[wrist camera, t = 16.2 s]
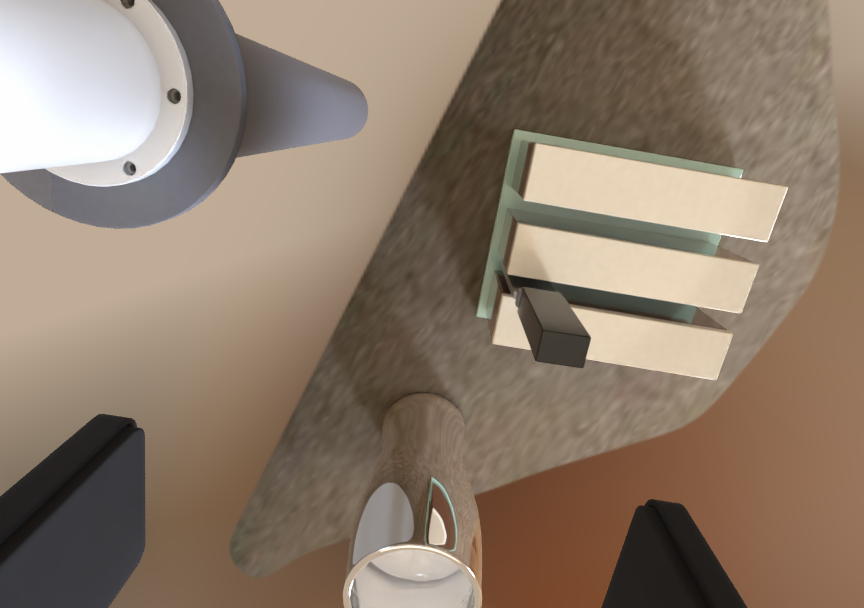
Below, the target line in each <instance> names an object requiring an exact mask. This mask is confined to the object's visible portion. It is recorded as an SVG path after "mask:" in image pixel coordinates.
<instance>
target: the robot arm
mask: <svg viewBox="0 0 864 608" xmlns="http://www.w3.org/2000/svg"><path fill="white" fill-rule="evenodd" d="M179 92H180V94H181V100H180V101H179V99H178V98H177V95H178V93H179ZM193 97H194V92H193V83H192V74H191V70H190V66H189V63H188V59H187V56H186V52H185V50H184V48H183V46H182V43H181V41H180V39H179V37H178V35H177V33H176V31H175V29H174V28H173V26H172V25H171V23H170V22H169V21H168V19H167V18H166V16H165V15H164V13H163V12H162V11H161V10H160V9H159V8H158V7H157V5H156V4H155V3H154V2H153V1H152V0H135V2H134V6H132V0H0V173H9V172H17V171H26V170H35V169H43V168H45V169H46V170H48V171H49V172H51V173H53V174H55V175H58V176H60V177H62V178H64V179H66V180H69V181H73V182H76V183H80V184H84V185H90V186H103V187H107V186H115V185H123V184H128V183H132V182H136V181H139V180H142V179H144V178H146V177H148V176H150V175H152V174H154V173H156V172H157V171H158V170H159V169H161V168H162V167H163V166H164V165H166V164H167V163H168V162H169V161H170V160H171V158H172V157H173V156H174V155H175V153H176V152H177V151H178V150H179V148H180V146H181V144H182V142H183V140H184V138H185V136H186V134H187V132H188V128H189V125H190V121H191V117H192V112H193ZM134 165H135V166H136V170H135V169H134ZM144 436H145V435H144V431H143V429H141V428H137V425H136V422H135V420H133V419H132V418H125V417H119V416H113V415H106V414H99V415H97V416H96V417H94V418H93V419H92V420H91V421H89V422H88V423H87V424H86V425H85V426H83V427H82V428H81V429H80V430H79V431H77V432H76V433H75V434H74V435H73V436H72V437H70V438H69V439H68V440H67V441H66V442H64V443H63V444H62V445H61V446H60V447H59V448H57V449H56V450H55V451H54V452H53V453H51V454H50V455H49V456H48V457H47V458H46V459H44V460H43V461H42V462H41V463H40V464H39V465H37V466H36V467H35V468H34V469H32V470H31V471H30V472H29V473H28V474H26V475H25V476H24V477H23V478H22V479H21V480H19V481H18V482H17V483H16V484H15V485H13V486H12V487H11V488H10V489H9V490H8V491H6V492H5V493H4V494H3V495H2V496H0V608H108V607H109V606H110V604H111V603H112V601H113V600H114V599H115V597H116V596H117V594H118V593H119V591H120V590H121V588H122V587H123V586H124V584H125V582H126V581H127V580H128V578H129V577H130V575H131V574H132V572H133V571H134V570H135V568H136V567H137V565H138V563H139V562H140V560H141V557H142V555H143V552H144V548H145V437H144ZM602 608H747V606H746V605H745V603H744V601H743V600H742V598H741V597H740V595H739V593H738V592H737V590H736V589H735V587H734V585H733V584H732V582H731V581H730V579H729V577H728V576H727V574H726V572H725V571H724V570H723V568H722V566H721V564H720V563H719V561H718V560H717V558H716V556H715V555H714V553H713V552H712V550H711V548H710V547H709V545H708V544H707V542H706V540H705V539H704V537H703V536H702V534H701V532H700V531H699V529H698V528H697V526H696V524H695V523H694V521H693V519H692V518H691V516H690V515H689V513H688V511H687V510H686V508H685V507H684V506H683V505H681V504H679V503H672V502H666V501H660V500H654V499H651V500H648V501H647V503H646V504H645V506H638V508H637V509H636V511H635V513H634V516H633V519H632V522H631V524H630V527H629V530H628V533H627V536H626V539H625V542H624V545H623V547H622V550H621V553H620V556H619V559H618V562H617V565H616V568H615V570H614V573H613V576H612V579H611V582H610V585H609V588H608V591H607V594H606V596H605V599H604V602H603V605H602Z"/></svg>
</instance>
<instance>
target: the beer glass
mask: <svg viewBox="0 0 864 608" xmlns="http://www.w3.org/2000/svg"><path fill="white" fill-rule="evenodd" d="M465 436H466V426H465V422H464V419H463V417H462V415H461V413H460V411H459V410H458V408H457V407H456V406H455V405H454V404H453V403H451V402H450V401H449V400H447V399H445V398H443V397H441V396H439V395H435V394H431V393H416V394H411V395H408V396H405V397H403V398H401V399H400V400H398V401H397V402H395V403H394V404H393V405H392V406H391V407H390V409H389V410H388V412H387V413H386V415H385V417H384V420H383V425H382V439H383V447H384V449H383V454H382V456H381V458H380V460H379V462H378V464H377V466H376V468H375V470H374V472H373V474H372V476H371V478H370V480H369V482H368V484H367V486H366V488H365V491H364V493H363V496H362V498H361V500H360V503H359V506H358V510H357V513H356V517H355V521H354V524H353V530H352V535H351V540H350V547H349V555H348V562H347V573H346V581H345V585H344V590H343V602H344V607H345V608H481V606H482V593H481V579H482V577H481V576H482V544H481V530H480V522H479V514H478V509H477V505H476V502H475V498H474V494H473V491H472V488H471V485H470V482H469V479H468V476H467V473H466V471H465V468H464V465H463V461H462V456H461V455H462V449H463V446H464V442H465Z"/></svg>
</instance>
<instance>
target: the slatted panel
mask: <svg viewBox="0 0 864 608" xmlns="http://www.w3.org/2000/svg"><path fill="white" fill-rule="evenodd" d="M742 172H743V169H739V168H733V167H728V166H722V165H716V164H711V163H705V162H699V161H693V160H688V159H682V158H676V157H671V156H665V155H659V154H654V153H648V152H642V151H637V150H631V149H625V148H619V147H614V146H608V145H602V144H597V143H591V142H585V141H580V140H574V139H568V138H563V137H557V136H551V135H545V134H540V133H534V132H528V131H523V130H517V129H513V132H512V137H511V142H510V147H509V152H508V157H507V162H506V167H505V172H504V177H503V181H502V186H501V191H500V196H499V201H498V206H497V211H496V216H495V221H494V226H493V230H492V235H491V240H490V245H489V250H488V255H487V260H486V265H485V270H484V275H483V279H482V284H481V289H480V294H479V299H478V304H477V309H476V316H477V317H481V318H487V320H488V325H489V329H490V334H491V339H492V343H493V344H497V345H503V346H509V347H515V348H522V349H528V350H531V348H530V345H529V342H528V340H527V337H526V334H525V332H524V329H523V326H522V324H521V321H520V318H519V316H518V313H517V310H518V307H516V305H515V300H516V299H513V298H512V295H511V292H510V290H509V287H508V284H507V282H506V279H505V276H504V274H503V271H502V269H501V266H500V262H501V259H502V262H503V264H504V267H505V269H506V272H507V274H508V275H514V276H520V277H526V278H531V279H537V280H543V281H549V282H551V284H552V286H553V287H554V289H555V290H556V292H559V293H562V295H563V296H564V298H565V299H566V301H567V302H568V304H569V305H570V307H571V308H572V310H573V311H574V313H575V314H576V316H577V317H578V319H579V320H580V322H581V323H582V324H583V326H584V327H585V329H586V330H587V332H588V333H589V335H590V336H591V341H590V345H589V349H588V352H587V356H586V359H589V360H595V361H601V362H607V363H613V364H619V365H626V366H632V367H638V368H644V369H650V370H656V371H662V372H668V373H674V374H681V375H687V376H693V377H699V378H705V379H711V380H717V377H718V374H719V372H720V369H721V366H722V363H723V361H724V358H725V355H726V353H727V350H728V347H729V345H730V342H731V339H732V337H733V334H732V333H731V332H730V331H728V330H727V329H725V328H724V327H723V326H721V325H720V324H719V323H717V322H716V321H714V320H713V319H712V318H710V317H709V316H708V315H706V314H705V313H704V312H702V311H701V310H700V309H698V308H697V306H699V307H705V308H711V309H717V310H723V311H729V312H734V313H742V310H743V307H744V305H745V302H746V299H747V296H748V294H749V291H750V288H751V286H752V283H753V280H754V278H755V275H756V272H757V270H758V267H759V265H758V264H756V263H754V262H752V261H750V260H747V259H745V258H743V257H741V256H739V255H736V254H734V253H732V252H730V251H728V250H726V249H723V248H721V247H719V246H717V245H718V243H719V240H720V237H721V235H727V236H733V237H738V238H744V239H750V240H756V241H762V242H768V240H769V237H770V234H771V232H772V229H773V226H774V224H775V221H776V218H777V216H778V213H779V210H780V208H781V205H782V202H783V199H784V197H785V194H786V191H787V189H788V187H786V186H781V185H776V184H770V183H765V182H760V181H755V180H749V179H744V178H741V175H742Z"/></svg>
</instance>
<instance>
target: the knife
mask: <svg viewBox="0 0 864 608" xmlns="http://www.w3.org/2000/svg"><path fill="white" fill-rule="evenodd" d="M500 266H501V269H502V271H503V274H504V276H505V279H506V282H507V284H508V287H509V290H510V292H511V295H512V298H513V299H516V300H515V305H516V307H518V310H517V313H518V316H519V318H520V321H521V324H522V326H523V329H524V332H525V334H526V337H527V340H528V342H529V345H530V348H531V350H532V353H533V356H534V358H535V361H538V362H544V363H551V364H557V365H564V366H571V367H577V368H583V367H584V363H585V360H586V356H587V352H588V349H589V345H590V341H591V336H590V335H589V333H588V332H587V330H586V329H585V327H584V326H583V324H582V323H581V322H580V320H579V319H578V317H577V316H576V314H575V313H574V311H573V310H572V308H571V307H570V305H569V304H568V302H567V301H566V299H565V298H564V296H563V295H562V293H559V292H556V290H555V289H554V287H553V286H552V284H551V282H549V281H543V280H537V279H531V278H526V277H520V276H514V275H508V274H507V272H506V269H505V267H504V264H503V262H502V259H501V262H500Z"/></svg>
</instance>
